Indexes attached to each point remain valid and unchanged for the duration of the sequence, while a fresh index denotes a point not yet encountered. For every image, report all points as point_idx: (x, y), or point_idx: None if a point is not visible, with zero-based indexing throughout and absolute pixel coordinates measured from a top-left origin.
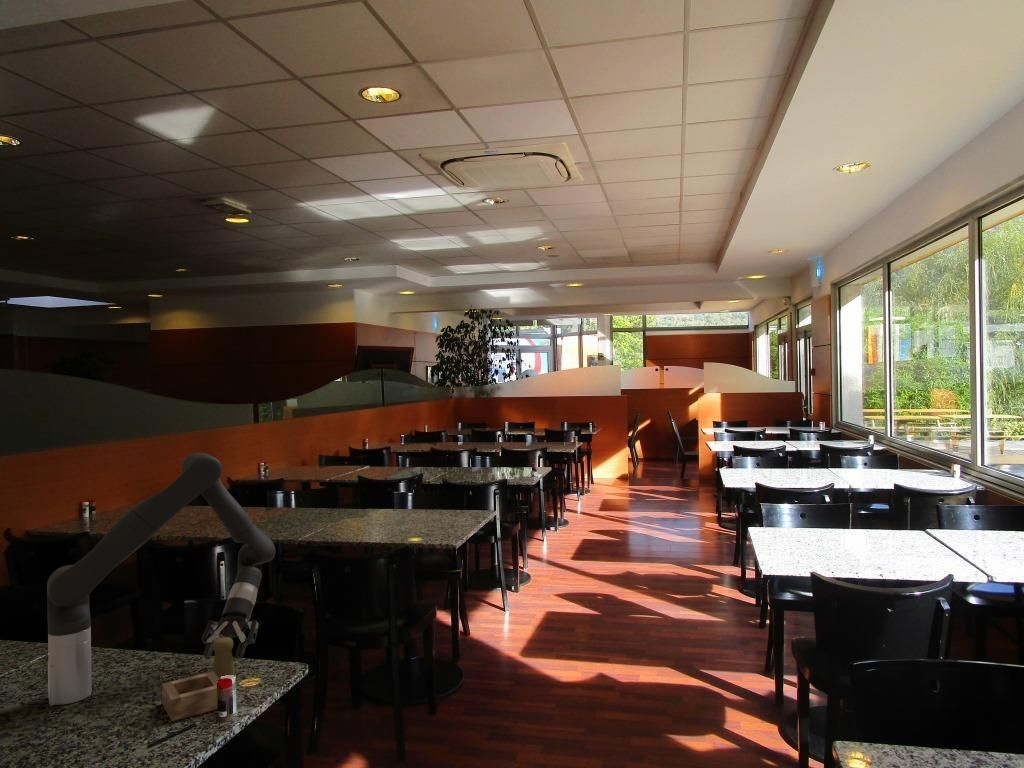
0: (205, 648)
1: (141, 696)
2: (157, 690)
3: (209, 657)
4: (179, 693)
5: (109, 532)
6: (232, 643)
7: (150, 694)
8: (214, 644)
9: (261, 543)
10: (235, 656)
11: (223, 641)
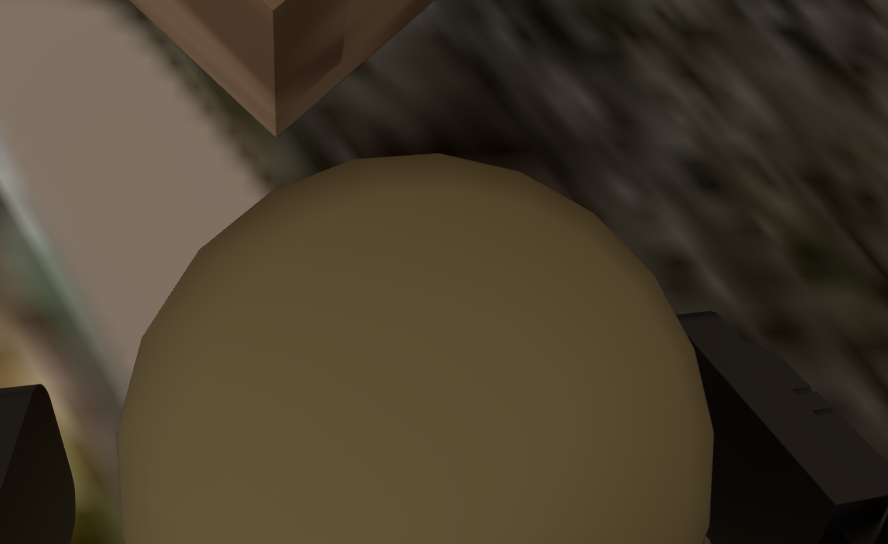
0: (841, 428)
1: (884, 4)
2: (855, 123)
3: None
4: None
5: None
6: (121, 492)
7: (845, 42)
8: (561, 195)
9: None
10: (38, 385)
11: (317, 239)
